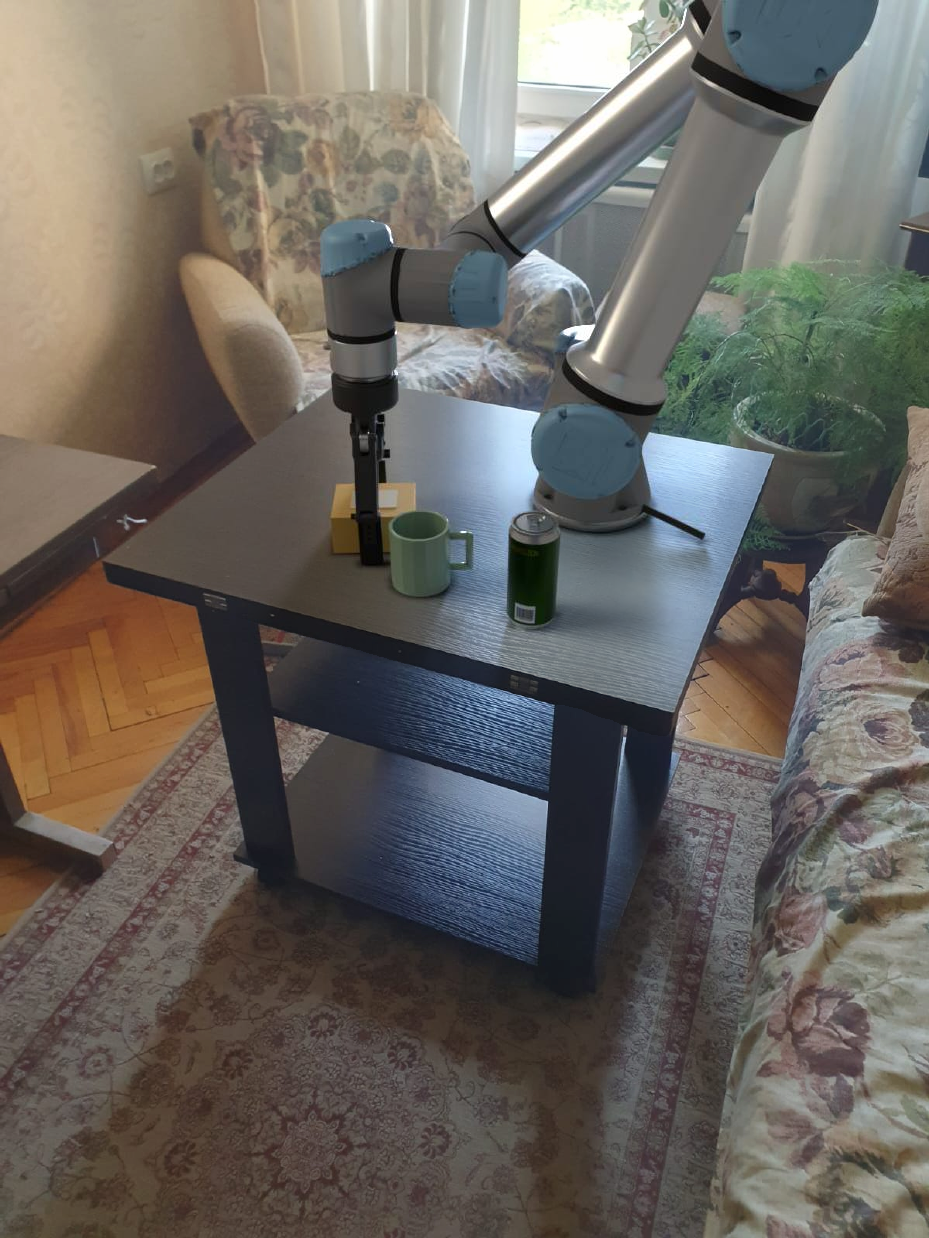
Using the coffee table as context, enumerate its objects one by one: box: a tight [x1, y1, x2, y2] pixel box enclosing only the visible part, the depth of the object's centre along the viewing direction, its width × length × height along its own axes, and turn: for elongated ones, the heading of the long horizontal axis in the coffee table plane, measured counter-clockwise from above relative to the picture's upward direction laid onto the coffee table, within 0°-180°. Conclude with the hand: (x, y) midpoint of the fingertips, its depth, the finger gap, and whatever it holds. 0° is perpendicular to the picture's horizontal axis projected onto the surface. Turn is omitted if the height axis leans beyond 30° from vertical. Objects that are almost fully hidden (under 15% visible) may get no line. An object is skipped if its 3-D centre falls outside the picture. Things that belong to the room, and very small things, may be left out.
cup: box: [389, 509, 474, 598], centre depth 107 cm, size 10×7×8 cm
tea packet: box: [330, 482, 418, 554], centre depth 116 cm, size 10×8×5 cm
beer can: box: [506, 510, 561, 630], centre depth 100 cm, size 5×5×12 cm
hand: (375, 533), depth 118 cm, fingers open, 13 cm apart
